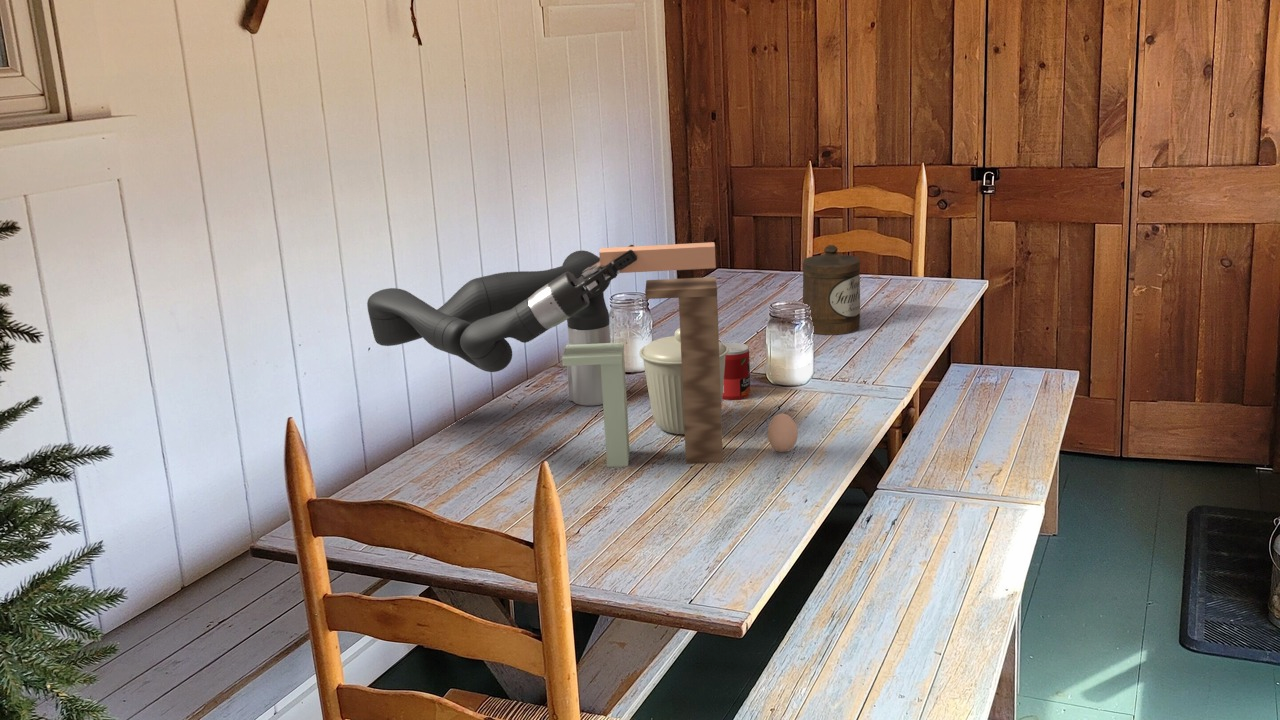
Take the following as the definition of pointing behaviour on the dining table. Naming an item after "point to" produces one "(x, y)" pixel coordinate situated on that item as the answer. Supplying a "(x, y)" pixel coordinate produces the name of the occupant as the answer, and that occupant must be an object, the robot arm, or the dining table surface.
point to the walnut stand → (697, 363)
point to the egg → (782, 433)
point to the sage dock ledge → (608, 394)
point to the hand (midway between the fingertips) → (634, 251)
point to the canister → (670, 380)
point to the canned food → (736, 372)
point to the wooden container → (832, 292)
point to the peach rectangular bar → (664, 257)
